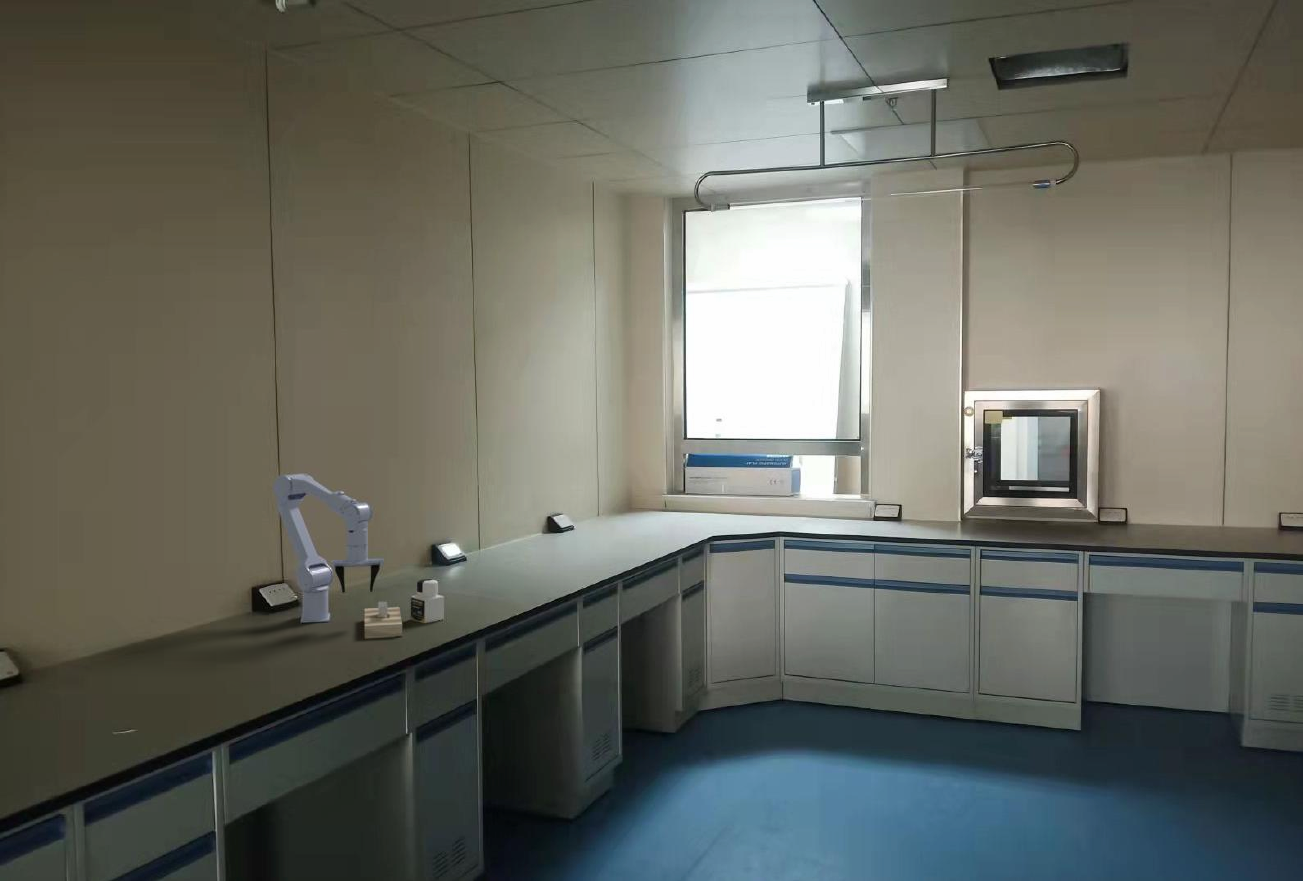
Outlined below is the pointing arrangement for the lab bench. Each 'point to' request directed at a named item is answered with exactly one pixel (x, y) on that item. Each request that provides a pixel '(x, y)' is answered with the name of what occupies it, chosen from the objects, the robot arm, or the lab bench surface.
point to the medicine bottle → (427, 602)
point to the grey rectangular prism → (382, 609)
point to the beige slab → (383, 623)
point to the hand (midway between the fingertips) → (357, 591)
